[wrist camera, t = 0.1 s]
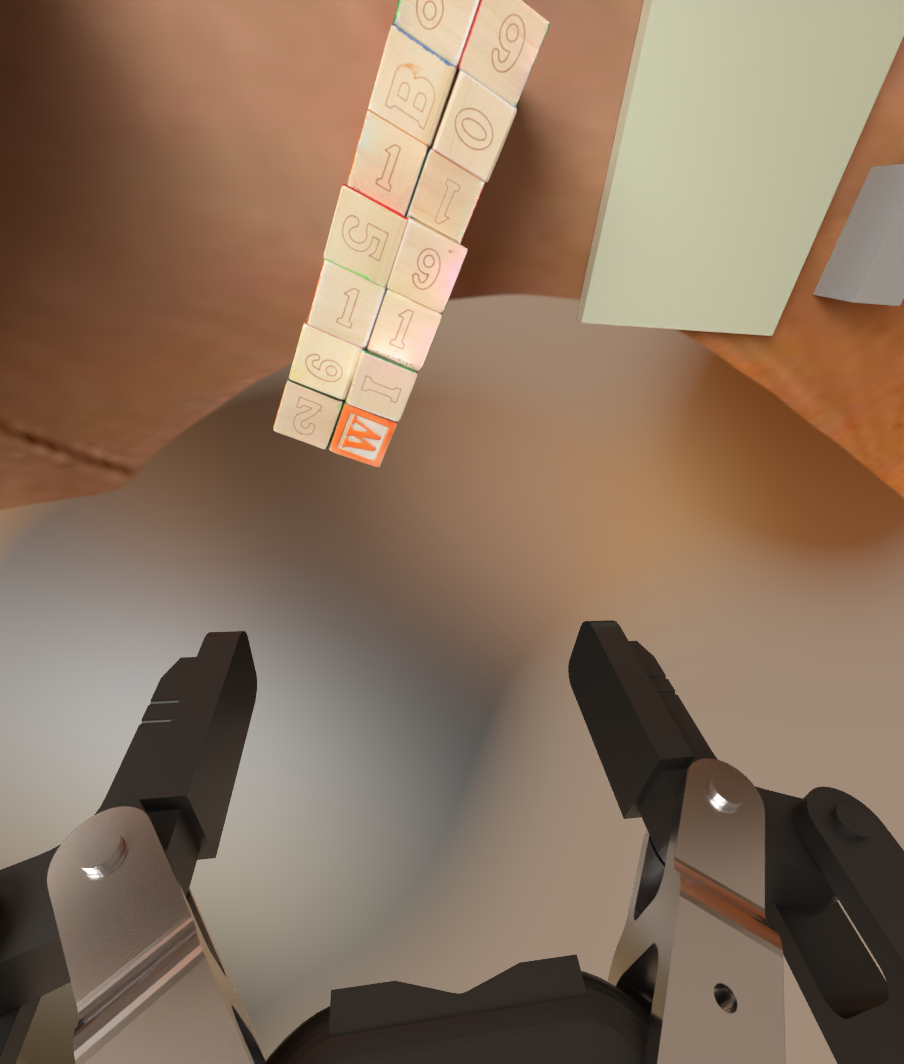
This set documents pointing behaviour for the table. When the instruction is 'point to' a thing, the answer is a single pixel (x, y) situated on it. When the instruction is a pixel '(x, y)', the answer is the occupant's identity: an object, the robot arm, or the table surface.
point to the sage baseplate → (730, 156)
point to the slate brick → (870, 244)
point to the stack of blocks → (406, 216)
